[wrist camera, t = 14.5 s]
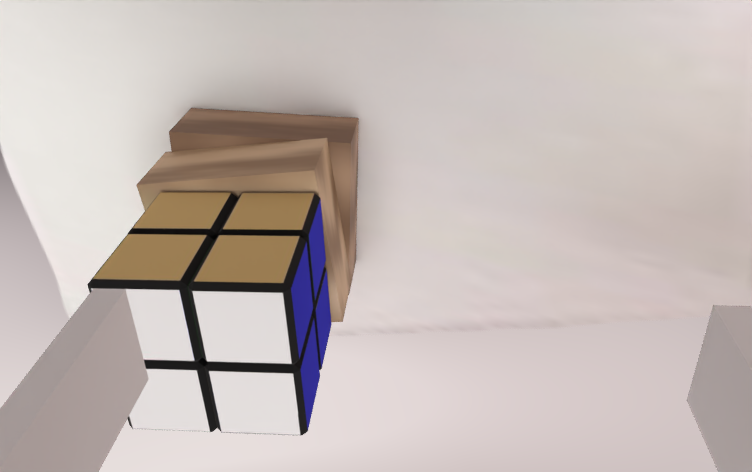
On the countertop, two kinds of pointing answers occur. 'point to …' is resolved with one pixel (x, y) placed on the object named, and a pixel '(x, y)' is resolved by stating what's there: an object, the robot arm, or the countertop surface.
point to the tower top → (263, 189)
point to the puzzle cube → (226, 310)
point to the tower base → (274, 127)
